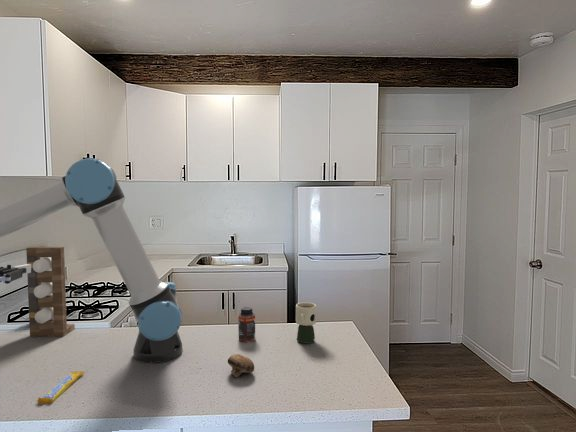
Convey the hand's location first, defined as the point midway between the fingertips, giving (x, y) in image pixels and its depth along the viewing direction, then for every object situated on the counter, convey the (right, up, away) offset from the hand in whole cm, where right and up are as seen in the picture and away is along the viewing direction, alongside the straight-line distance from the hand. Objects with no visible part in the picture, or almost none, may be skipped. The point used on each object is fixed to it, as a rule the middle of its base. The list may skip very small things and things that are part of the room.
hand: (28, 268), depth 137 cm
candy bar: (+24, -30, -24) cm, 45 cm away
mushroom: (+71, -29, -15) cm, 78 cm away
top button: (-2, -2, +12) cm, 13 cm away
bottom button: (-2, -20, +13) cm, 25 cm away
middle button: (-2, -11, +13) cm, 17 cm away
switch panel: (-2, -26, +17) cm, 31 cm away
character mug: (+90, -27, +10) cm, 95 cm away
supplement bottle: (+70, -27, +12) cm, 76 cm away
